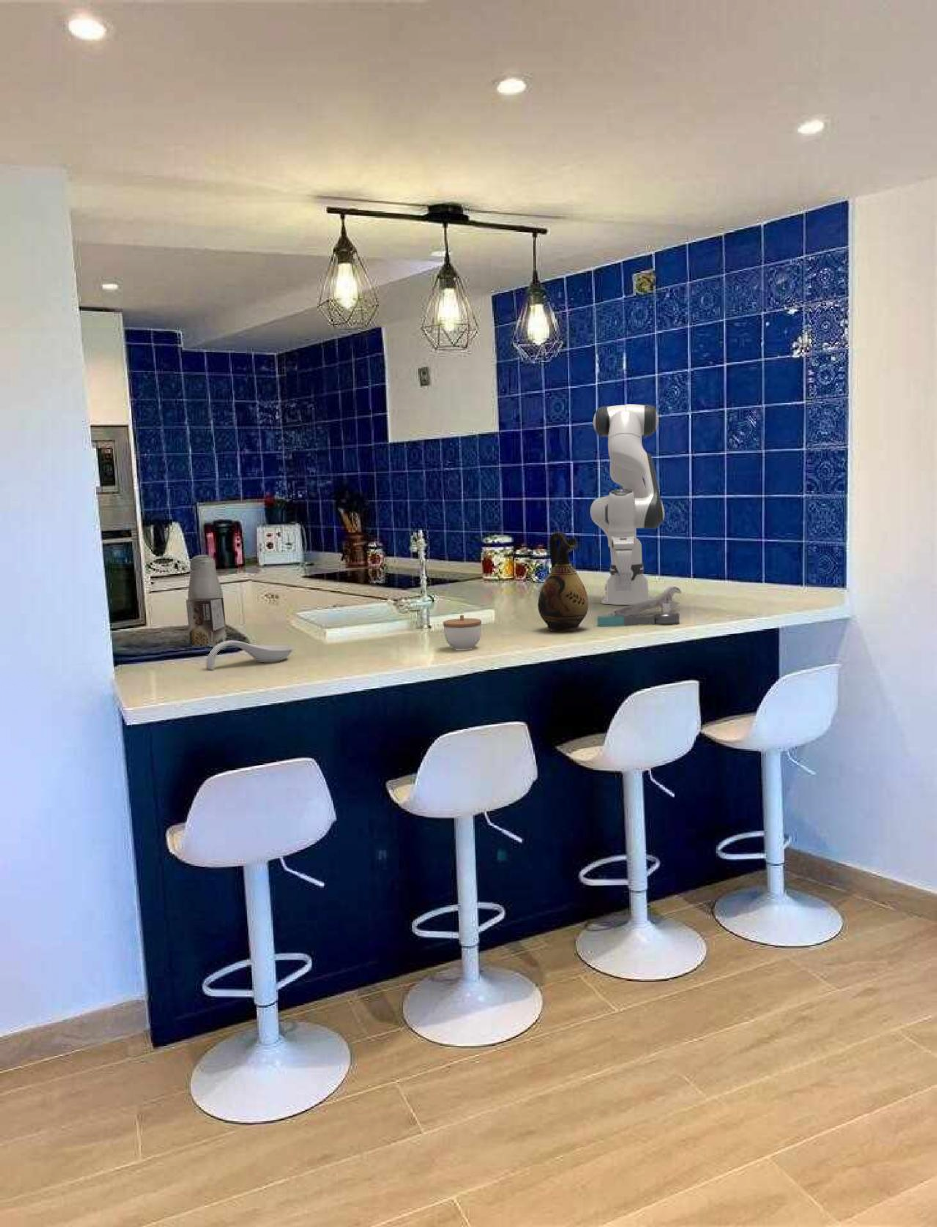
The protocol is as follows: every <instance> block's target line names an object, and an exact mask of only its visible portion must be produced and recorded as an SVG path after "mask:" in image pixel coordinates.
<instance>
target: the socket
mask: <svg viewBox="0 0 937 1227" xmlns="http://www.w3.org/2000/svg"><path fill="white" fill-rule="evenodd" d="M614 586H615V591H631V574H630V573H628V574H627V580H626V586H621V582H620V574H619V573H614Z"/></svg>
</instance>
